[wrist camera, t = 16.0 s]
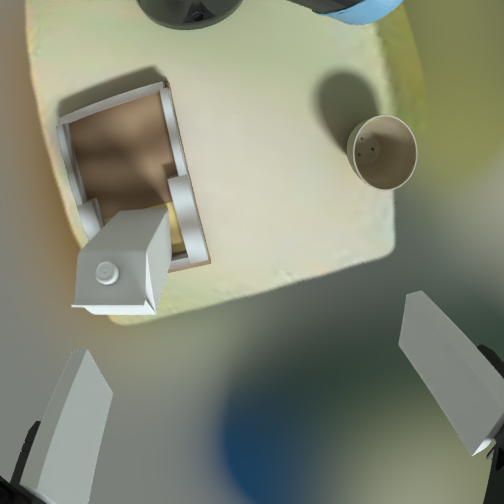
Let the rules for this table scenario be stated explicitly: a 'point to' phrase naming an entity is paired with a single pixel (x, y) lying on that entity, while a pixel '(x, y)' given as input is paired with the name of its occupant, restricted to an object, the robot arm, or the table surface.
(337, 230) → the table surface
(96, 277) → the milk carton
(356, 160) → the flower pot
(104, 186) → the divided compartment tray
